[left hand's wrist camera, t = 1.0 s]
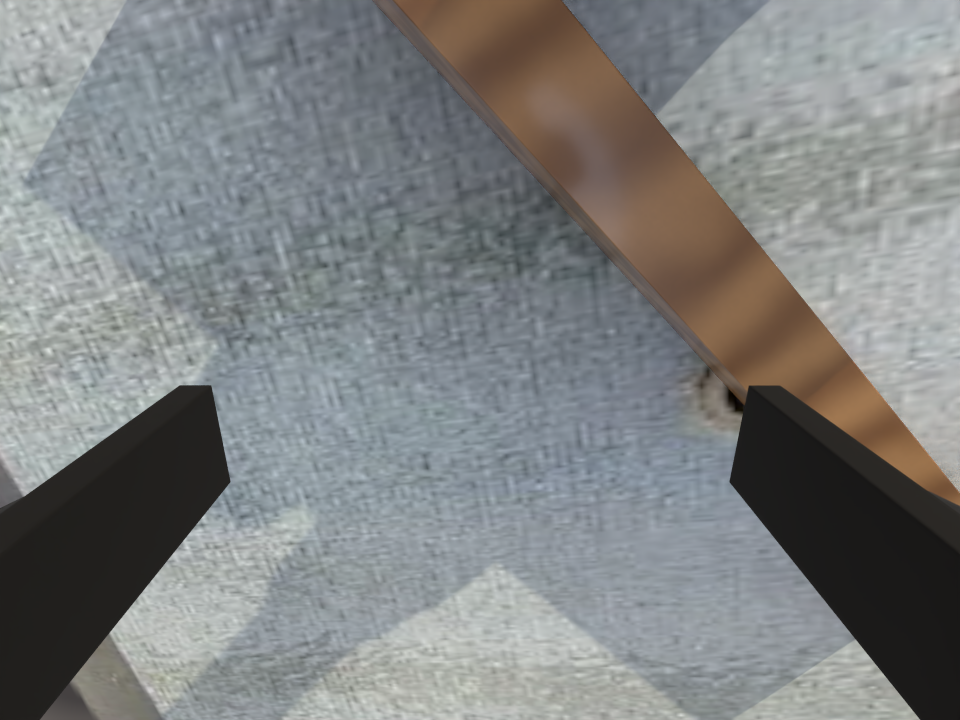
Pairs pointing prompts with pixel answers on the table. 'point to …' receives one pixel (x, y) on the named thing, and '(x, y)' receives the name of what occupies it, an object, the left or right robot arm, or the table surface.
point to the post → (649, 208)
